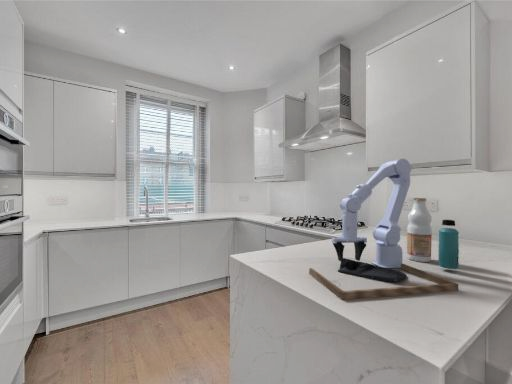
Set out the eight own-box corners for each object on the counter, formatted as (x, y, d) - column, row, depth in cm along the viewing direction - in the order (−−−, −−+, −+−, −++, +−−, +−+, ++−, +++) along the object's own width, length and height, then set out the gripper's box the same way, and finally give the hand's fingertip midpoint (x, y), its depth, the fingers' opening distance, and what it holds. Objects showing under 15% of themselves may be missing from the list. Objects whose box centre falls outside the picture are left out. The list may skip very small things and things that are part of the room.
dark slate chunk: (397, 288, 82) (397, 273, 82) (333, 272, 98) (334, 259, 98) (410, 277, 93) (410, 264, 93) (351, 264, 108) (351, 253, 108)
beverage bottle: (459, 274, 96) (461, 221, 96) (438, 271, 99) (439, 219, 99) (457, 270, 101) (458, 219, 101) (436, 267, 105) (438, 218, 105)
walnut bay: (403, 268, 102) (403, 263, 102) (458, 290, 80) (458, 284, 80) (309, 273, 94) (309, 268, 94) (341, 299, 72) (342, 292, 72)
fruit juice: (401, 257, 120) (402, 197, 119) (417, 256, 122) (418, 197, 122) (419, 263, 110) (420, 198, 110) (436, 261, 113) (437, 198, 113)
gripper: (359, 225, 109) (359, 257, 109) (328, 225, 106) (327, 258, 106) (370, 227, 102) (369, 261, 102) (337, 228, 99) (336, 263, 99)
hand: (349, 260), depth 104 cm, fingers open, 7 cm apart
